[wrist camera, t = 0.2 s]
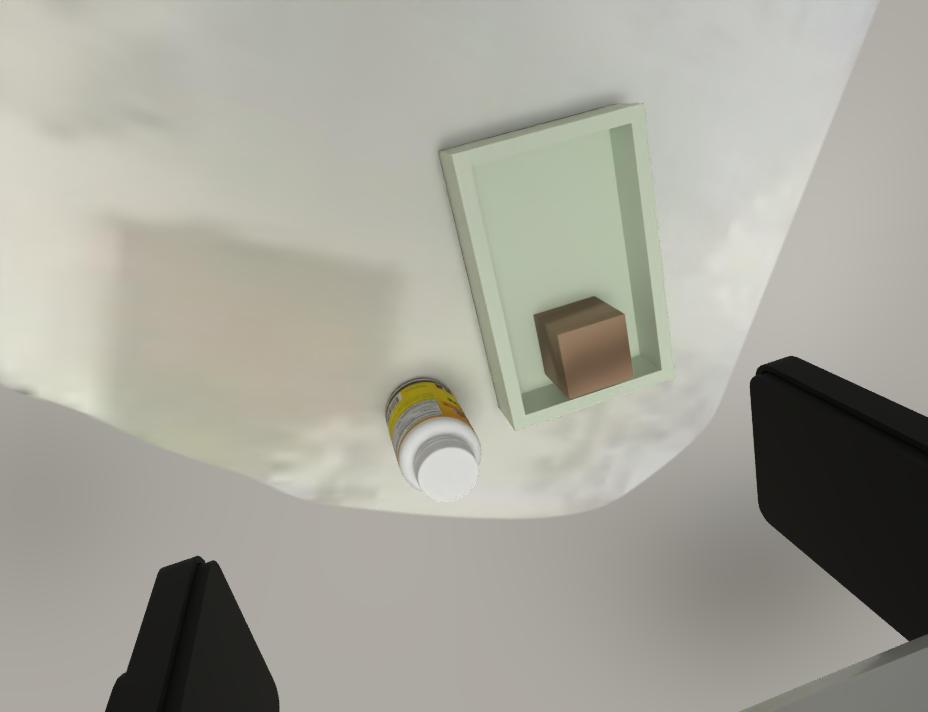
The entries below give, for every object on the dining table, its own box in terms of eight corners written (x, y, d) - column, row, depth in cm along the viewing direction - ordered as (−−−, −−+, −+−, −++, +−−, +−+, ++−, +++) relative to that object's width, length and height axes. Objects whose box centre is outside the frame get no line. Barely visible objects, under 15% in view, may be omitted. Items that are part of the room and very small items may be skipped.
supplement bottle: (463, 427, 51) (500, 496, 42) (396, 451, 51) (418, 526, 41) (445, 365, 49) (480, 423, 40) (374, 389, 48) (393, 454, 39)
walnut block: (533, 314, 49) (557, 335, 44) (594, 295, 49) (624, 314, 45) (545, 374, 51) (569, 399, 46) (603, 354, 51) (633, 378, 47)
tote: (438, 151, 44) (451, 154, 40) (614, 104, 46) (643, 102, 42) (499, 407, 51) (515, 431, 48) (647, 359, 53) (675, 377, 49)
